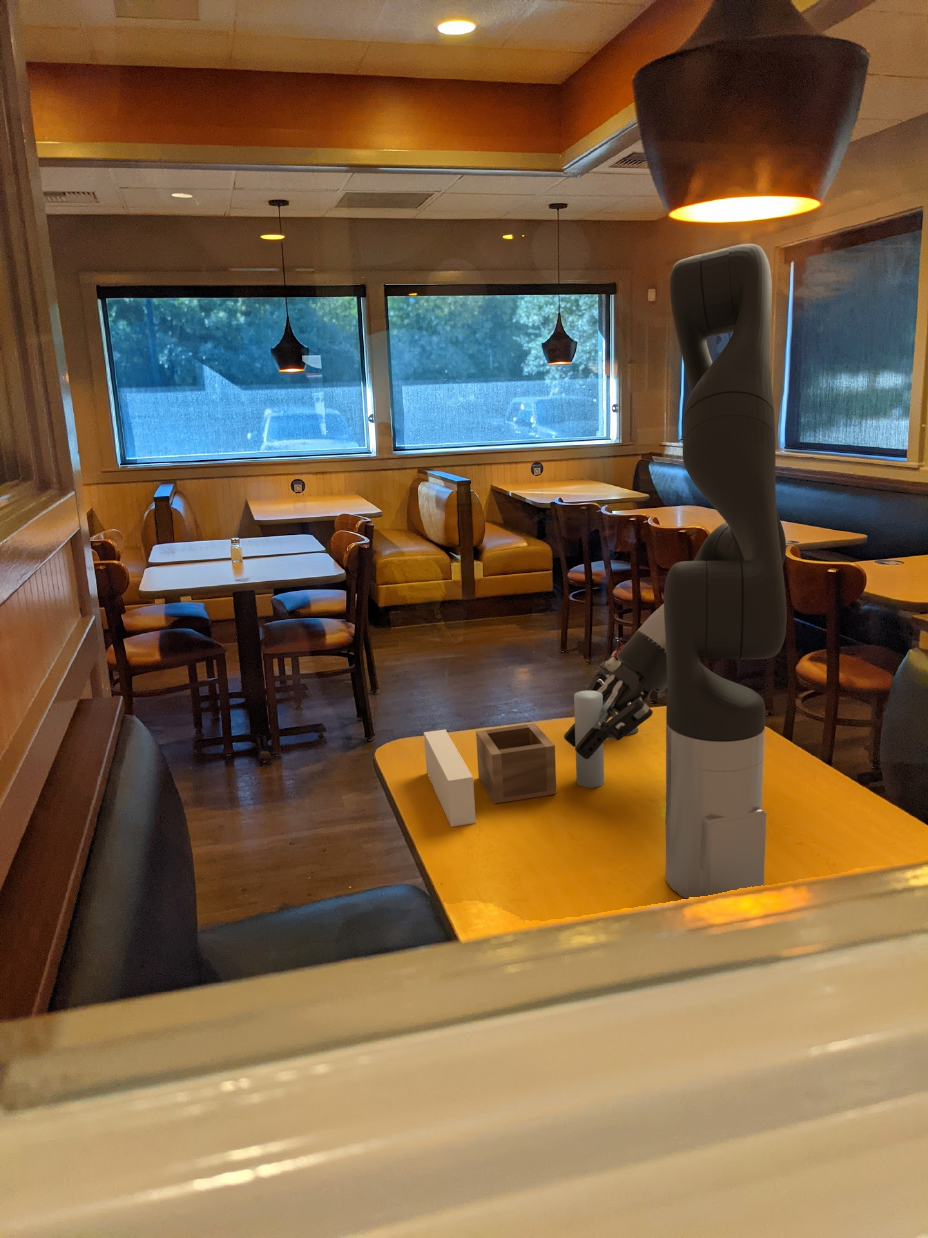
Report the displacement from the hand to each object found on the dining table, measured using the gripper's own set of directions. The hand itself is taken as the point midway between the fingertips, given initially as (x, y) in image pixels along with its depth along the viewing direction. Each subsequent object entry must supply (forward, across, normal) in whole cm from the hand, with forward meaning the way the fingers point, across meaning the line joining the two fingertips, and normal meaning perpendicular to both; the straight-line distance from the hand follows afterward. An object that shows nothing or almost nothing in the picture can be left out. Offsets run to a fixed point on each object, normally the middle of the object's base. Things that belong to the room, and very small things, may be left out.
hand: (575, 748), depth 107 cm
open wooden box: (+9, -2, -2) cm, 9 cm away
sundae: (-6, -15, +13) cm, 21 cm away
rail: (+15, -2, -8) cm, 17 cm away
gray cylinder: (+2, 0, +5) cm, 5 cm away
